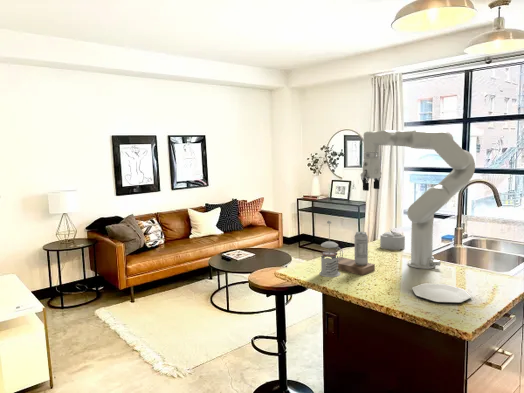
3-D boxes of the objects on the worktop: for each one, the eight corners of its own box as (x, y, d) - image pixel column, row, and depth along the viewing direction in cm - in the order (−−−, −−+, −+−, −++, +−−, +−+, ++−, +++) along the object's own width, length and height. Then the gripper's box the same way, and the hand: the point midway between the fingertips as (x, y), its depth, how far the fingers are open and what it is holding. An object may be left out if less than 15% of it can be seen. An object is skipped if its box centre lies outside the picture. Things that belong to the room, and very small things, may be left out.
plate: (479, 297, 147) (479, 293, 146) (451, 310, 135) (451, 306, 135) (431, 283, 163) (431, 280, 163) (402, 294, 152) (402, 290, 151)
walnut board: (374, 270, 182) (374, 264, 181) (362, 275, 175) (362, 269, 175) (340, 262, 196) (339, 256, 196) (327, 266, 190) (327, 260, 190)
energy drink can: (367, 262, 185) (367, 231, 183) (368, 266, 179) (368, 234, 177) (354, 262, 186) (354, 231, 184) (354, 265, 180) (354, 234, 178)
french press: (315, 272, 181) (314, 220, 179) (335, 268, 186) (335, 217, 183) (326, 278, 172) (325, 223, 170) (348, 274, 177) (347, 220, 174)
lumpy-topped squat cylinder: (385, 244, 231) (385, 230, 230) (407, 247, 224) (407, 232, 223) (378, 248, 223) (378, 233, 222) (401, 251, 215) (401, 235, 214)
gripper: (368, 156, 187) (368, 191, 189) (387, 155, 198) (386, 188, 200) (354, 156, 192) (355, 190, 194) (374, 155, 204) (374, 188, 206)
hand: (371, 189), depth 197 cm, fingers open, 9 cm apart
